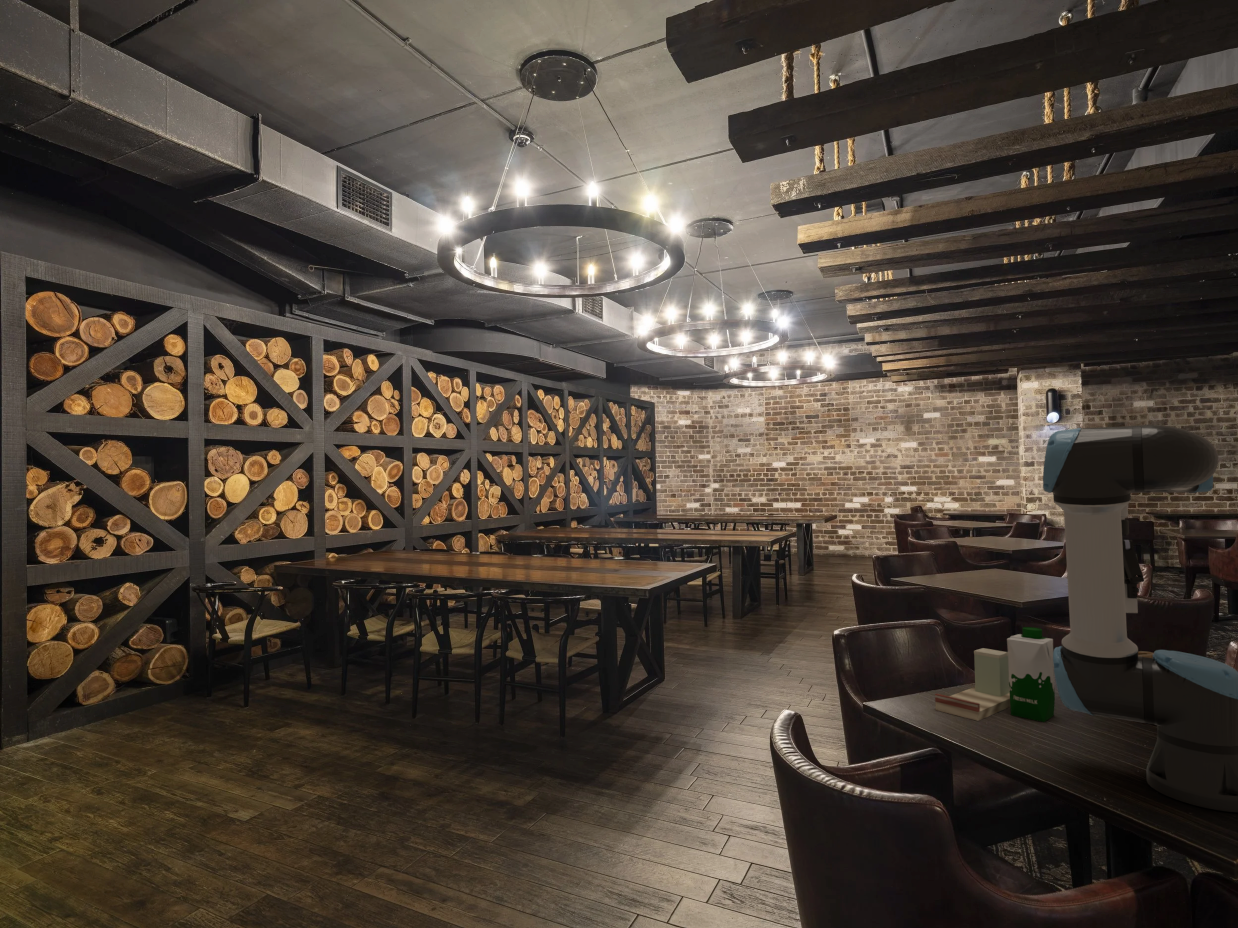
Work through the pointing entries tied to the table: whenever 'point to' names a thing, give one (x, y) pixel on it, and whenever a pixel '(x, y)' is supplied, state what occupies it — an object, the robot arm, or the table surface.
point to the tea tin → (991, 672)
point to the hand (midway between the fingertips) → (1112, 608)
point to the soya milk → (1031, 675)
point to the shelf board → (971, 704)
